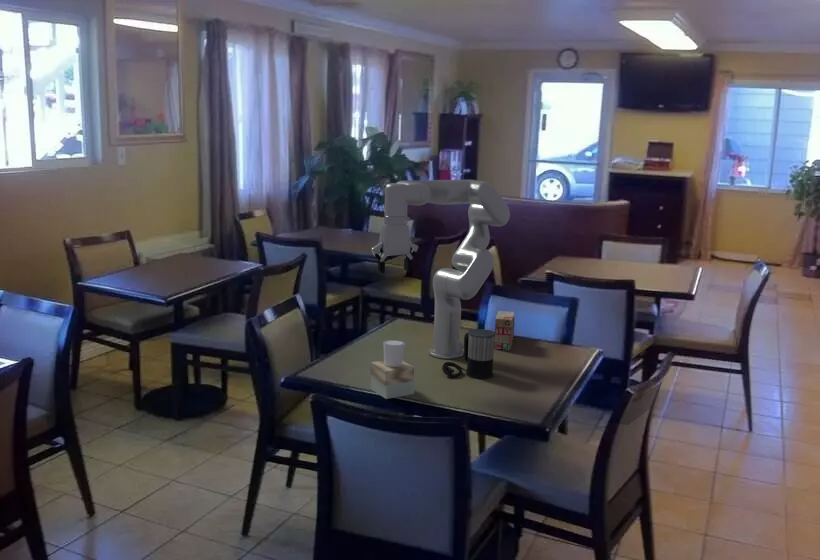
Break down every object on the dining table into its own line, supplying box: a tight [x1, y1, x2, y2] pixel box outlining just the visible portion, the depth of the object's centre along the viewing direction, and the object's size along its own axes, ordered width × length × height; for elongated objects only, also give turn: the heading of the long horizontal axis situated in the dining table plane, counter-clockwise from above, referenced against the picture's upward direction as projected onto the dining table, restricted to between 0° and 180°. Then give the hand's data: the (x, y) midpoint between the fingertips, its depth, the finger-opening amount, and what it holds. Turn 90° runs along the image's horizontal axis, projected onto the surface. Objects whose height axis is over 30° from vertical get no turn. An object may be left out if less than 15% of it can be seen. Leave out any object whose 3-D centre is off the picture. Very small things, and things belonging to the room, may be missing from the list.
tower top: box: [370, 359, 415, 386], centre depth 247 cm, size 10×10×4 cm
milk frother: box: [441, 328, 496, 380], centre depth 264 cm, size 14×16×15 cm
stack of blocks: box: [494, 310, 516, 351], centre depth 304 cm, size 21×6×12 cm, turn 169°
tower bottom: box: [370, 376, 416, 400], centre depth 247 cm, size 10×10×4 cm
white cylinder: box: [382, 339, 406, 367], centre depth 246 cm, size 7×7×7 cm
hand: (394, 271), depth 265 cm, fingers open, 9 cm apart
